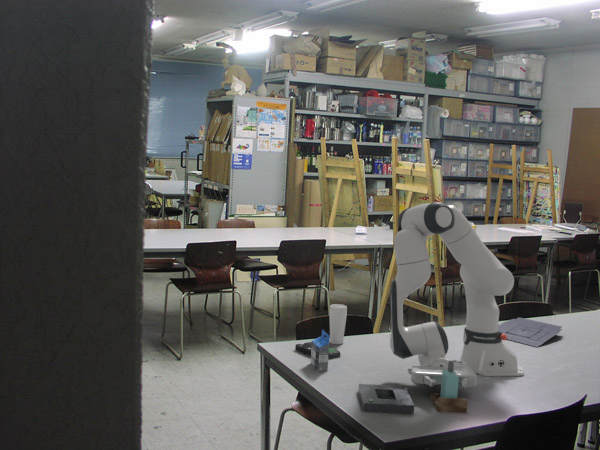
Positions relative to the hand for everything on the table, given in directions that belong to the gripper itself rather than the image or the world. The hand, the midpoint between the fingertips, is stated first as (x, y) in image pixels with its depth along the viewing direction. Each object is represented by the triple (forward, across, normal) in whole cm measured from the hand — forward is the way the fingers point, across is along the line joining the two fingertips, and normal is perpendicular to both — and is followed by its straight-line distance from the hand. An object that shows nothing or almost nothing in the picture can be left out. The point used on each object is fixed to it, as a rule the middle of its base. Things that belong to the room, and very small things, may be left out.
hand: (448, 385), depth 188 cm
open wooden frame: (+1, 0, +6) cm, 6 cm away
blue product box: (-29, -38, +6) cm, 48 cm away
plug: (+1, 0, +6) cm, 6 cm away
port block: (+1, -19, +6) cm, 20 cm away
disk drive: (-45, -38, +7) cm, 60 cm away
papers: (-88, +55, +6) cm, 103 cm away
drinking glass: (-60, -30, +6) cm, 68 cm away
